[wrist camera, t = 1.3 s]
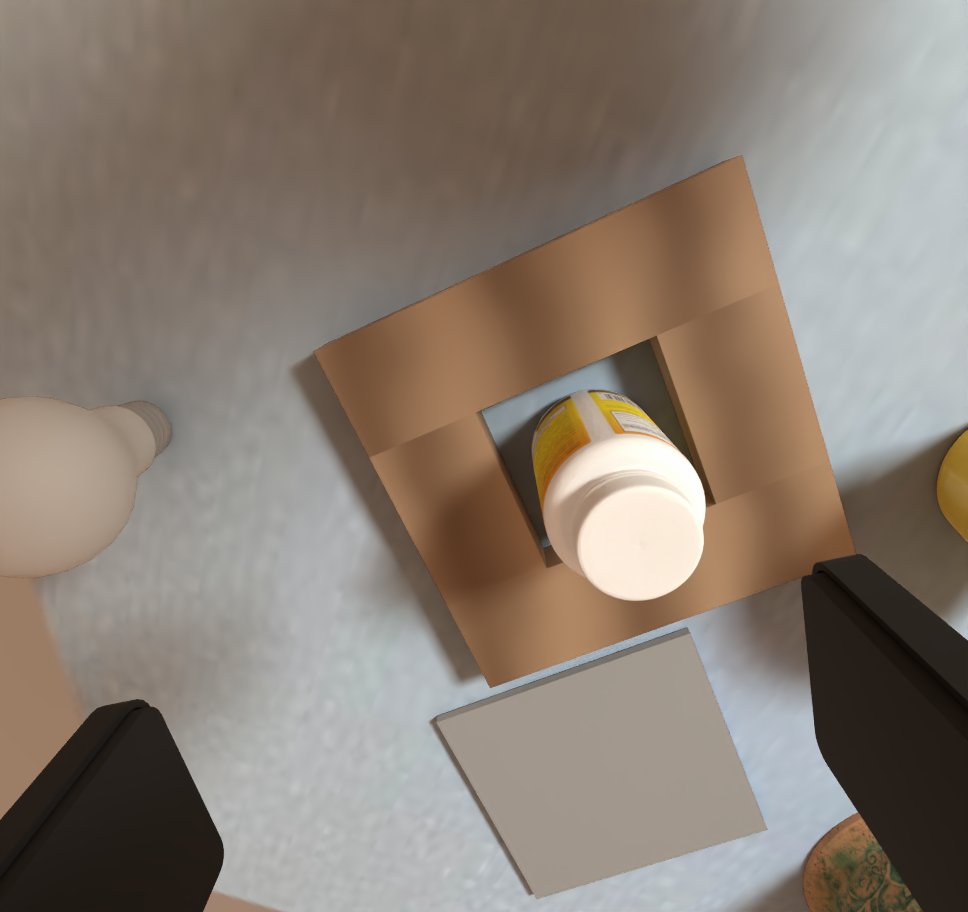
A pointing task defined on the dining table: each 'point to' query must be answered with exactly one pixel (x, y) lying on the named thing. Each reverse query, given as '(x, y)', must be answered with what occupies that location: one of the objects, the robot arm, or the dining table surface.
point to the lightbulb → (69, 479)
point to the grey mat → (606, 766)
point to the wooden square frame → (572, 345)
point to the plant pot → (955, 485)
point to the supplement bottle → (617, 496)
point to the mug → (854, 874)
